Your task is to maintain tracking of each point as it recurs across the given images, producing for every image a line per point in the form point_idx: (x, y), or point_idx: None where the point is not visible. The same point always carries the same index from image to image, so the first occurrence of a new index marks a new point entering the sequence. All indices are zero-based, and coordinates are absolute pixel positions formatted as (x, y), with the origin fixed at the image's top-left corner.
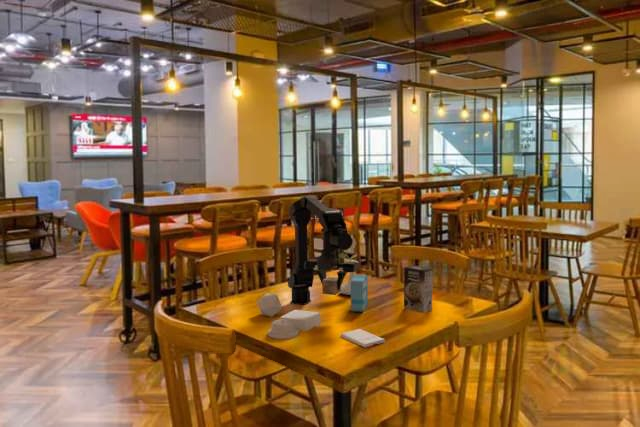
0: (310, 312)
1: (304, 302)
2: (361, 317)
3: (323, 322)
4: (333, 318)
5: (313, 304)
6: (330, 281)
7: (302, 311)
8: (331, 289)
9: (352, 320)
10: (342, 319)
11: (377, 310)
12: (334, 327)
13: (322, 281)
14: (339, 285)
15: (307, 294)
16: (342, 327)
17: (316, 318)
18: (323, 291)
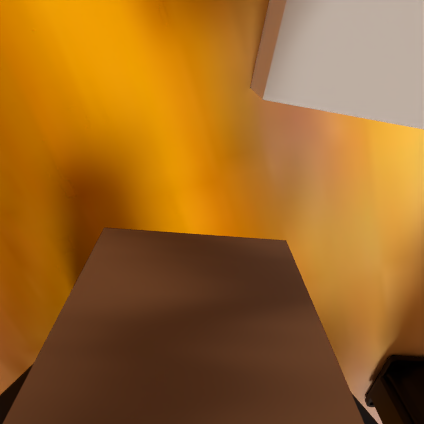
0: (345, 89)
1: (393, 371)
2: (48, 254)
3: (230, 106)
4: (192, 200)
5: (346, 367)
6: (152, 404)
7: (416, 101)
8: (154, 276)
9: (70, 192)
10: (134, 196)
11: (31, 360)
12: (116, 3)
13: (349, 395)
14: (26, 370)
15: (398, 414)
16: (61, 21)
17: (273, 27)
18: (279, 259)
